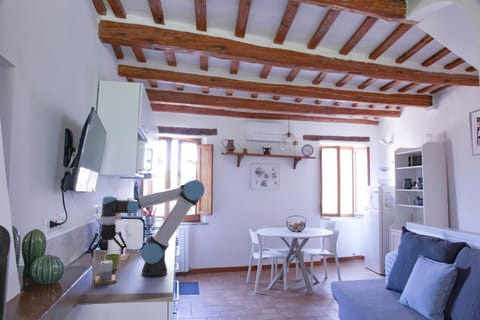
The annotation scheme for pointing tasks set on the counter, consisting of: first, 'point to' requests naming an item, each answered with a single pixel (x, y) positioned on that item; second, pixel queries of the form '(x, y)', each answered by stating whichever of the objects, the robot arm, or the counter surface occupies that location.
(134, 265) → the counter surface
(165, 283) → the counter surface
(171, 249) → the counter surface
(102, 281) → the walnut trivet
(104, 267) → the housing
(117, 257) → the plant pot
